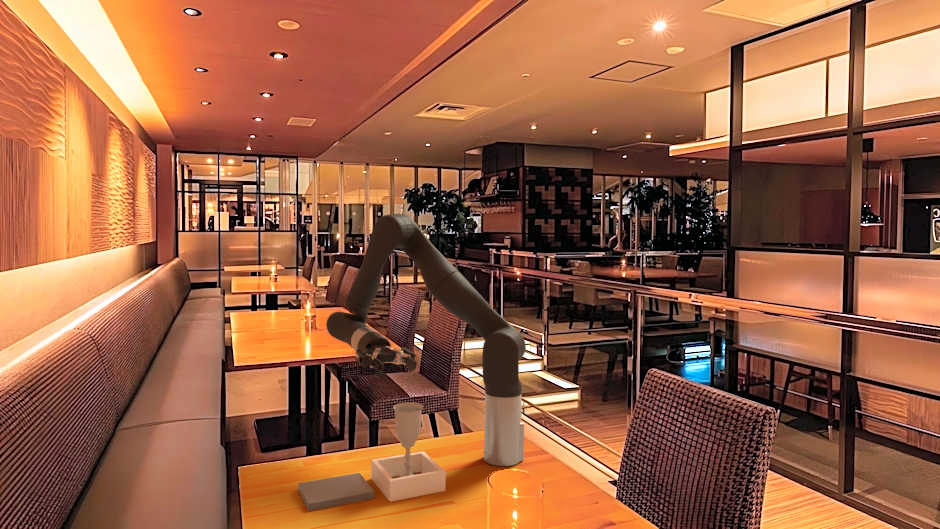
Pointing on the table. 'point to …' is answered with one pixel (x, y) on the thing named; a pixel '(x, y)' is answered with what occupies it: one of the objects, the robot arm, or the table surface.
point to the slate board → (335, 491)
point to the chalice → (407, 428)
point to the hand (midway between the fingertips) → (398, 367)
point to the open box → (408, 485)
